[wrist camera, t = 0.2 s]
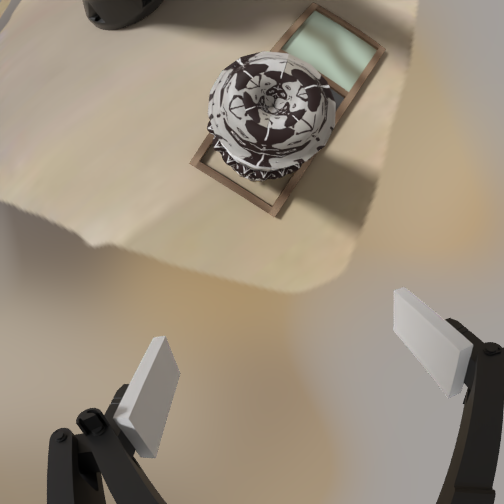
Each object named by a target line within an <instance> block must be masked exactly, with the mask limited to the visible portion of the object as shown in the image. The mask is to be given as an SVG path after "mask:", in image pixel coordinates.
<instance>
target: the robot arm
mask: <svg viewBox="0 0 504 504" xmlns="http://www.w3.org/2000/svg"><path fill="white" fill-rule="evenodd" d="M162 1H163V0H83V4H84V8H85V12H86V16H87V17H88V19H89V20H90V21H91V22H92V23H93V24H94V25H95V26H96V27H98V28H101V29H106V30H113V29H119V28H123V27H126V26H129V25H132V24H134V23H136V22H138V21H140V20H141V19H143V18H145V17H146V16H148V15H149V14H150V13H152V12H153V11H154V10H155V9H156V8H157V7H158V6H159V5H160V4H161V2H162ZM393 331H394V332H395V333H396V334H397V336H398V337H399V338H400V339H401V340H402V342H403V343H404V344H405V345H406V346H407V348H408V349H409V350H410V351H411V352H412V354H413V355H414V356H415V357H416V359H417V360H418V361H419V362H420V363H421V365H422V366H423V367H424V368H425V370H426V371H427V372H428V373H429V375H430V376H431V377H432V378H433V380H434V381H435V382H436V383H437V385H438V386H439V387H440V389H441V390H442V391H443V392H444V394H445V395H446V396H447V398H451V397H453V396H455V395H457V394H459V393H460V392H461V391H462V387H463V384H464V383H465V384H466V386H467V387H468V389H467V392H466V395H465V398H464V402H463V404H464V410H463V415H462V420H461V424H460V429H459V433H458V437H457V442H456V445H455V449H454V452H453V456H452V459H451V463H450V466H449V469H448V472H447V475H446V478H445V481H444V484H443V487H442V490H441V492H440V495H439V498H438V500H437V502H436V504H494V500H495V490H493V489H492V486H493V481H494V477H495V472H496V466H497V461H498V455H499V449H500V441H501V433H502V423H503V408H504V348H502V347H501V346H500V345H498V344H496V343H493V342H488V343H483V342H482V341H481V340H480V339H479V338H477V337H476V336H475V335H474V334H473V333H472V332H470V331H468V329H467V328H466V327H464V326H463V325H462V324H461V323H459V322H458V321H456V320H453V319H451V318H449V319H446V320H445V319H443V318H442V317H441V316H440V315H439V314H437V313H436V312H435V311H434V310H433V309H431V308H430V307H429V306H428V305H427V304H425V303H424V302H423V301H422V300H420V299H419V298H418V297H417V296H416V295H414V294H413V293H412V292H411V291H409V290H408V289H407V288H406V287H403V288H399V289H396V290H394V327H393ZM179 377H180V371H179V369H178V366H177V364H176V361H175V359H174V357H173V354H172V351H171V349H170V346H169V344H168V341H167V338H166V336H161V337H154V338H153V340H152V341H151V343H150V345H149V347H148V349H147V351H146V353H145V355H144V357H143V359H142V361H141V362H140V364H139V366H138V369H137V370H136V372H135V374H134V376H133V378H132V380H131V382H130V384H124V385H123V386H122V387H121V388H119V390H117V392H116V394H115V396H114V399H113V400H112V402H111V404H110V406H109V407H108V409H107V411H106V413H105V415H103V413H102V412H101V411H100V410H99V409H96V408H90V409H87V410H85V411H83V412H81V413H80V414H79V416H78V417H77V420H76V424H77V425H78V426H79V428H80V429H81V430H82V432H83V434H78V435H74V434H73V433H72V432H71V431H70V430H69V429H68V428H60V429H58V430H56V431H55V432H53V434H52V435H51V437H50V442H49V453H48V454H49V455H48V470H47V504H106V501H105V495H104V490H103V484H102V476H101V473H102V475H103V478H104V480H105V482H106V484H107V486H108V488H109V490H110V492H111V494H112V496H113V498H114V499H115V501H116V503H117V504H167V503H166V502H165V501H164V500H163V498H162V497H161V496H160V494H159V493H158V491H157V490H156V489H155V487H154V486H153V484H152V483H151V482H150V480H149V479H148V477H147V476H146V474H145V473H144V471H143V470H142V468H141V467H140V465H139V464H138V462H137V461H136V459H135V458H134V457H133V455H134V453H135V450H136V452H137V453H138V454H139V455H140V457H143V458H156V455H157V452H158V448H159V445H160V441H161V438H162V434H163V430H164V427H165V424H166V420H167V417H168V413H169V410H170V406H171V403H172V400H173V396H174V393H175V390H176V386H177V383H178V380H179Z"/></svg>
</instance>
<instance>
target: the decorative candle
mask: <svg viewBox="0 0 504 504" xmlns="http://www.w3.org/2000/svg"><path fill="white" fill-rule="evenodd" d="M335 112H336V102H335V100H334V97H333V94H332V92H331V90H330V87H329V85H328V82H327V81H326V80H325V79H324V77H323V76H322V75H321V74H320V73H319V72H318V71H317V70H316V69H315V68H314V67H313V66H312V65H311V64H309V63H307V62H305V61H303V60H301V59H299V58H297V57H295V56H293V55H291V54H287V53H278V52H268V51H263V52H259V53H255V54H251V55H247V56H244V57H241V58H239V59H238V60H236V61H235V62H234V63H232V64H231V65H229V66H228V67H227V68H225V69H224V70H223V71H222V72H221V73H220V75H219V77H218V78H217V80H216V82H215V83H214V85H213V87H212V89H211V90H210V97H209V107H208V116H209V119H210V121H209V123H208V126H207V130H208V131H209V133H211V134H212V135H214V138H213V142H212V143H213V147H214V149H215V150H216V151H218V152H220V153H221V154H222V158H223V160H224V162H225V163H226V164H228V165H229V166H231V167H232V169H233V170H234V171H236V172H237V173H238V174H239V175H240V176H241V177H245V178H247V179H249V180H251V181H254V180H257V181H265V180H267V179H277V178H281V177H283V176H285V175H286V174H291V173H293V172H296V171H297V170H299V169H300V168H301V166H302V164H303V163H304V162H306V161H307V160H310V159H311V157H312V156H313V155H314V154H316V153H317V152H318V151H319V150H320V149H322V148H323V147H324V146H325V145H326V143H327V141H328V139H329V137H330V135H331V133H332V131H333V129H334V127H335Z"/></svg>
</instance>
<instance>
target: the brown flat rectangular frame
mask: <svg viewBox="0 0 504 504" xmlns="http://www.w3.org/2000/svg"><path fill="white" fill-rule="evenodd" d="M385 50H386V49H385V48H384V47H382V46H381V45H380V44H378V43H377V42H376V41H374V40H373V39H371V38H370V37H369V36H367V35H366V34H364V33H363V32H361V31H360V30H358V29H357V28H355V27H354V26H352V25H351V24H349V23H348V22H346V21H345V20H343V19H341V18H340V17H338V16H336V15H335V14H333V13H331V12H330V11H328V10H326V9H325V8H323V7H321V6H319V5H317V4H316V3H314V2H313V3H312V4H311V5H310V6H309V7H308V8H307V9H306V11H305V12H304V13H303V14H302V15H301V16H300V17H299V18H298V19H297V20H296V21H295V23H294V24H293V25H292V26H291V27H290V28H289V29H288V30H287V32H286V33H285V34H284V35H283V36H282V37H281V39H280V40H279V41H278V42H277V43H276V45H275V46H274V47H273V48H272V49H271V51H270V52H278V53H287V54H291V55H293V56H295V57H297V58H299V59H301V60H303V61H305V62H307V63H309V64H311V65H312V66H313V67H314V68H315V69H316V70H317V71H318V72H319V73H320V74H321V75H322V76H323V77H324V79H325V80H326V81H327V82H328V85H329V87H330V90H331V92H332V94H333V97H334V100H335V102H336V112H335V125H336V124H337V122H338V121H339V119H340V118H341V116H342V115H343V113H344V112H345V110H346V109H347V107H348V106H349V104H350V103H351V101H352V99H353V98H354V96H355V95H356V93H357V92H358V90H359V89H360V87H361V86H362V84H363V83H364V81H365V80H366V78H367V77H368V75H369V74H370V72H371V71H372V69H373V68H374V66H375V65H376V63H377V62H378V60H379V59H380V57H381V56H382V54H383V53H384V51H385ZM213 138H214V135H212V134H211V133H209V134H208V135H207V137H206V138H205V140H204V141H203V143H202V144H201V146H200V147H199V149H198V151H197V152H196V154H195V155H194V157H193V158H192V160H191V161H190V163H189V164H191V165H192V166H194V167H196V168H197V169H199V170H201V171H202V172H204V173H205V174H207V175H209V176H210V177H212V178H214V179H215V180H217V181H218V182H220V183H222V184H223V185H225V186H226V187H228V188H230V189H231V190H233V191H234V192H236V193H238V194H239V195H241V196H242V197H244V198H245V199H247V200H249V201H250V202H252V203H253V204H255V205H256V206H258V207H259V208H261V209H263V210H264V211H266V212H267V213H269V214H270V215H272V216H273V217H275V216H276V215H277V213H278V212H279V210H280V208H281V207H282V205H283V204H284V202H285V201H286V199H287V198H288V196H289V195H290V193H291V192H292V190H293V189H294V187H295V186H296V184H297V183H298V181H299V180H300V178H301V177H302V175H303V174H304V172H305V171H306V169H307V168H308V166H309V165H310V163H311V162H312V160H313V159H314V157H315V156H316V154H317V153H316V154H314V155H313V156H312V157H311V159H310V160H307V161H306V162H304V163H303V164H302V166H301V168H300V169H299V170H297V171H296V172H295V173H294V174H293V176H292V177H291V179H290V180H289V182H288V183H287V185H286V186H285V188H284V189H283V191H282V192H281V194H280V195H279V197H278V199H277V200H276V202H275V203H274V205H273V206H272V207H271V206H270V205H268V204H267V203H265V202H264V201H262V200H260V199H259V198H257V197H256V196H254V195H253V194H251V193H250V192H248V191H246V190H245V189H243V188H242V187H240V186H239V185H237V184H235V183H234V182H232V181H231V180H229V179H227V178H226V177H224V176H223V175H221V174H219V173H218V172H216V171H215V170H213V169H211V168H210V167H208V166H206V165H205V164H203V163H201V162H200V161H201V160H202V158H203V156H204V155H205V153H206V152H207V150H208V149H209V147H210V146H211V144H212V142H213Z"/></svg>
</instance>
